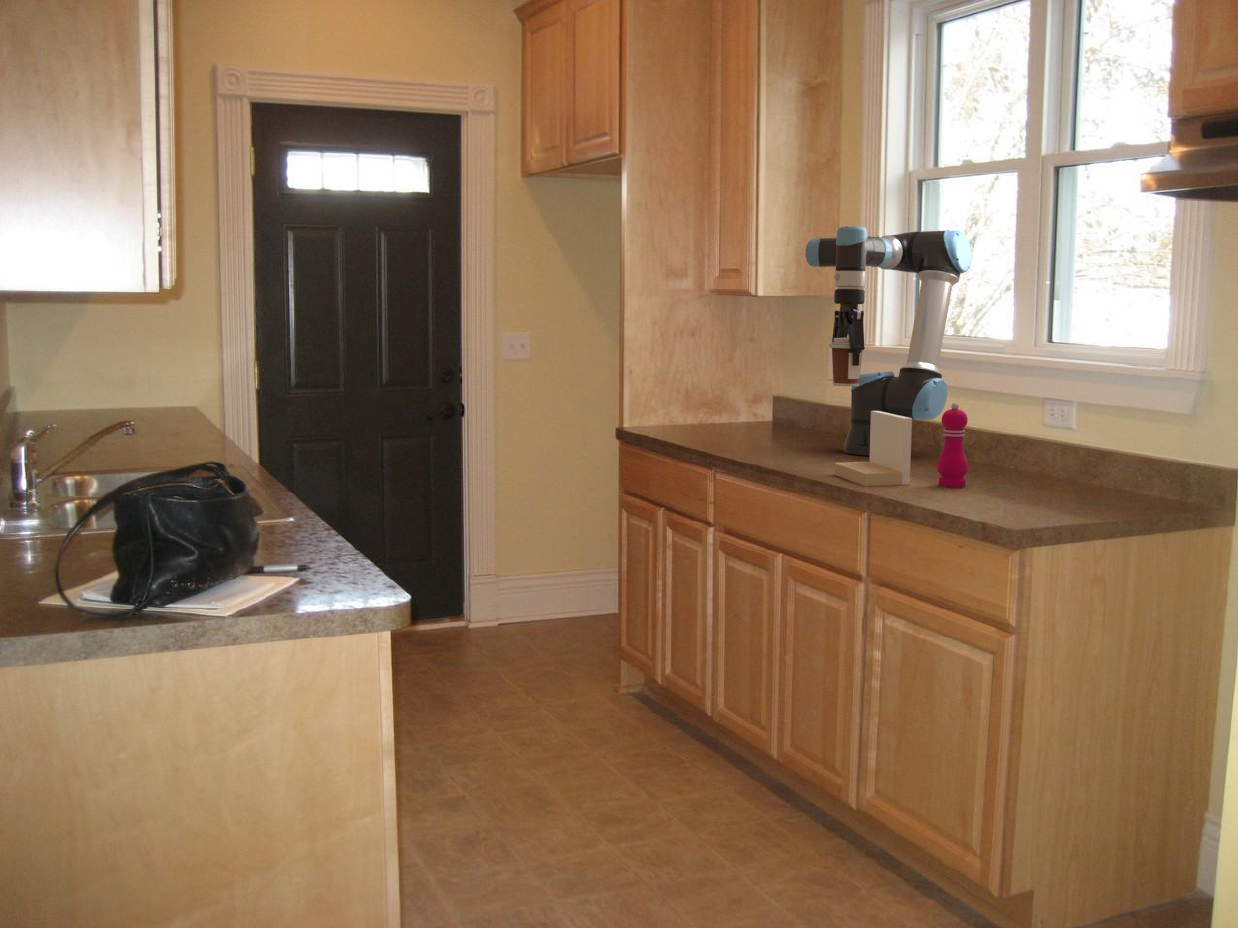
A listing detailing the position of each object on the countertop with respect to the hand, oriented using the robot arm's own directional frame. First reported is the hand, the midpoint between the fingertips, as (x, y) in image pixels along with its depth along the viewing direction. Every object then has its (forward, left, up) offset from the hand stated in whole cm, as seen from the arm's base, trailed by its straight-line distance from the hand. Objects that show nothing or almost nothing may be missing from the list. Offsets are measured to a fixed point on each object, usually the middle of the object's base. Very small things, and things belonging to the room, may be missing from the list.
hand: (846, 377), depth 314 cm
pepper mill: (-16, +27, -24) cm, 40 cm away
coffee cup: (0, 0, -2) cm, 2 cm away
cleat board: (-1, +14, -24) cm, 28 cm away
